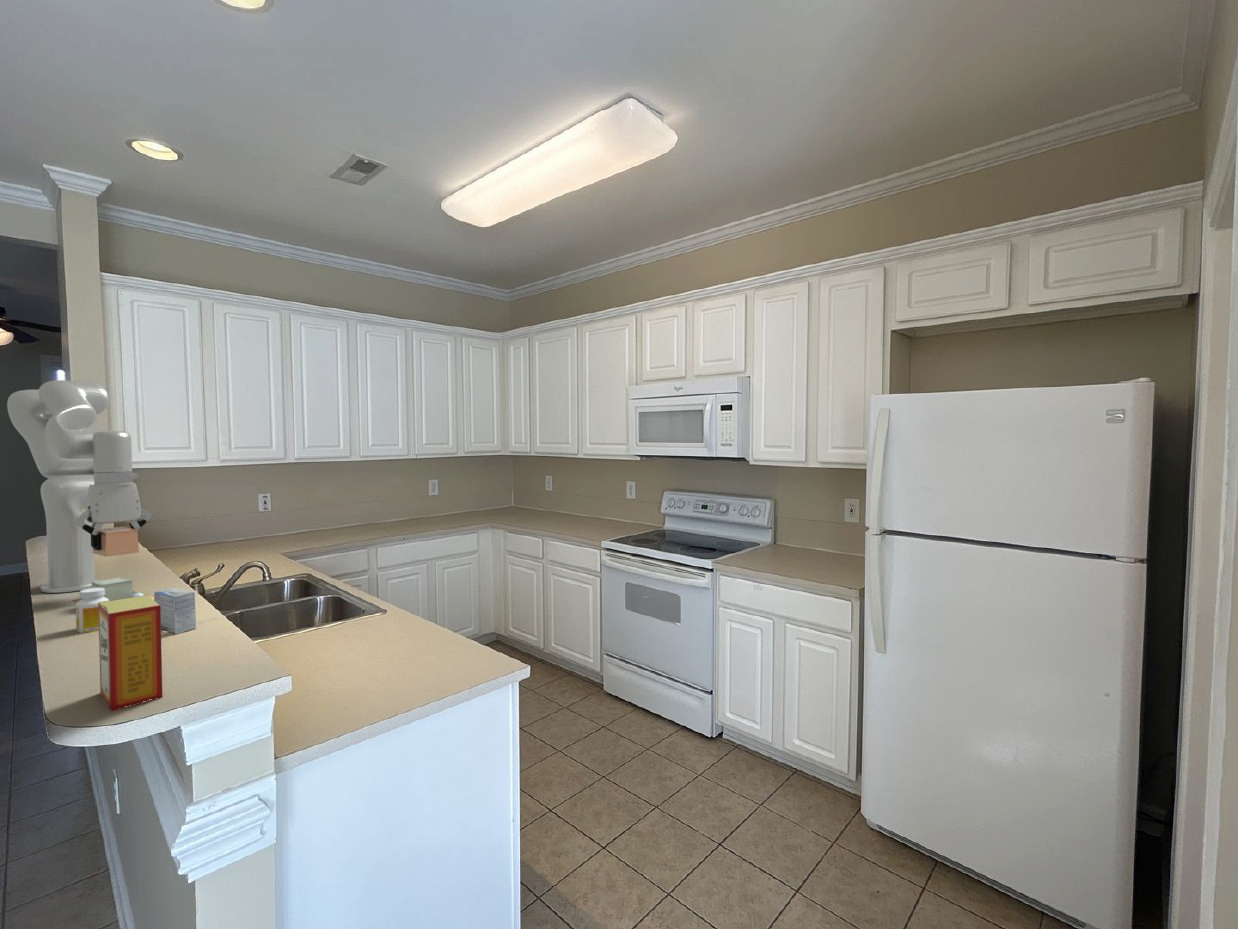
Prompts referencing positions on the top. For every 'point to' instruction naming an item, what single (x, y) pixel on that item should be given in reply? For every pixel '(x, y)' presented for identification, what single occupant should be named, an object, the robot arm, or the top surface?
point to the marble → (137, 594)
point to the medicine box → (177, 609)
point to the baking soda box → (130, 651)
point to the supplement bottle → (89, 609)
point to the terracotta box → (118, 541)
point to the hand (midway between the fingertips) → (115, 546)
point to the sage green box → (115, 588)
